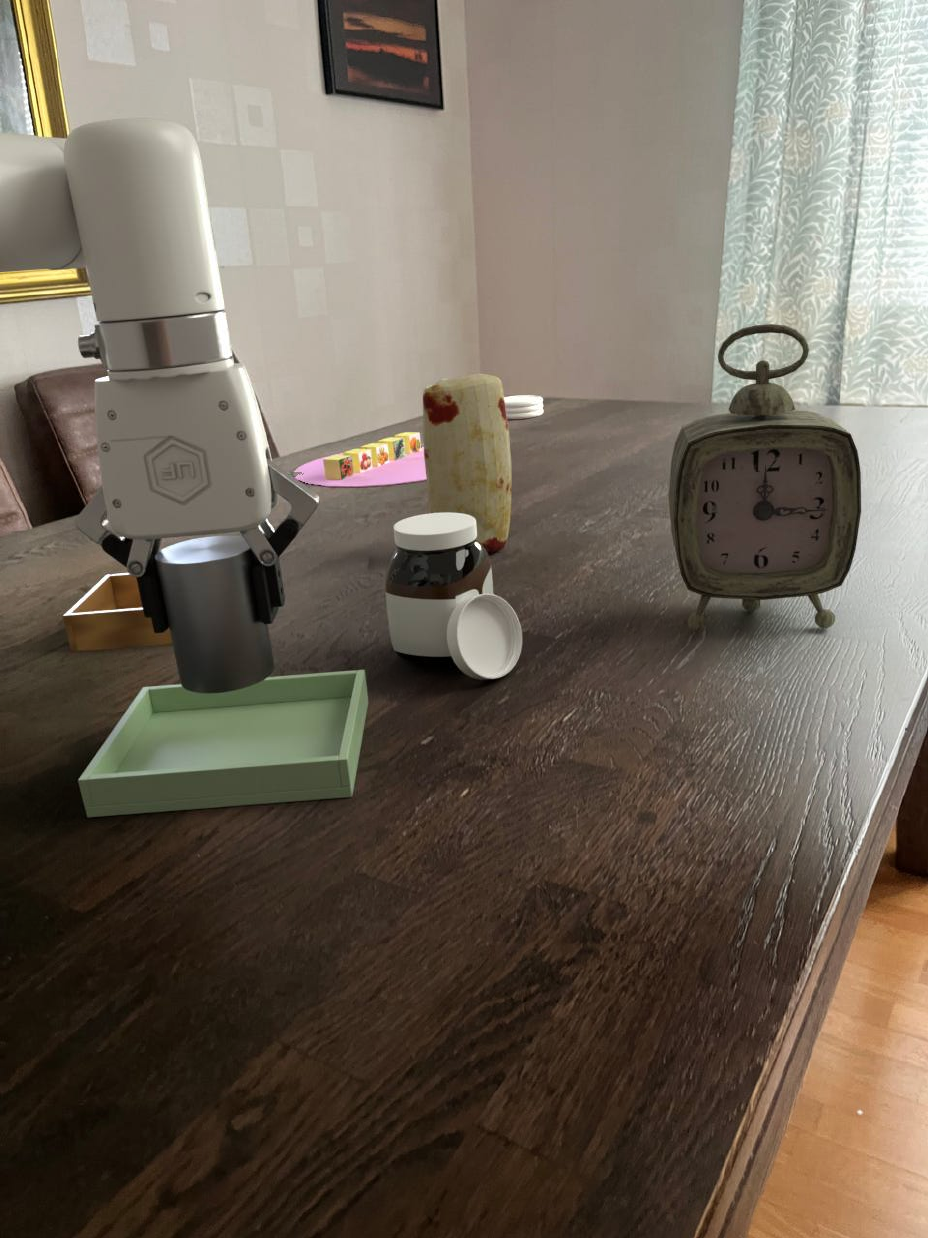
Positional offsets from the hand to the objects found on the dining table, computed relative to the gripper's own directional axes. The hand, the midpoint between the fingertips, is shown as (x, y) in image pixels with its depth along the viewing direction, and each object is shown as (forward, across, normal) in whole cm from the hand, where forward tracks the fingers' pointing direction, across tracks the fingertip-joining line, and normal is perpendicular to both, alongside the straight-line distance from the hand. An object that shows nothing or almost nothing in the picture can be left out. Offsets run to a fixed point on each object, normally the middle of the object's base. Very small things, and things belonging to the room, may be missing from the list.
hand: (217, 619), depth 65 cm
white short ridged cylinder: (+10, +30, +140) cm, 144 cm away
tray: (+10, 0, 0) cm, 10 cm away
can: (+4, 0, 0) cm, 4 cm away
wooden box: (+10, -14, +28) cm, 33 cm away
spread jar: (+11, +16, +14) cm, 24 cm away
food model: (+11, +18, +45) cm, 50 cm away
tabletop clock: (+11, +42, +18) cm, 47 cm away
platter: (+10, +5, +100) cm, 101 cm away
